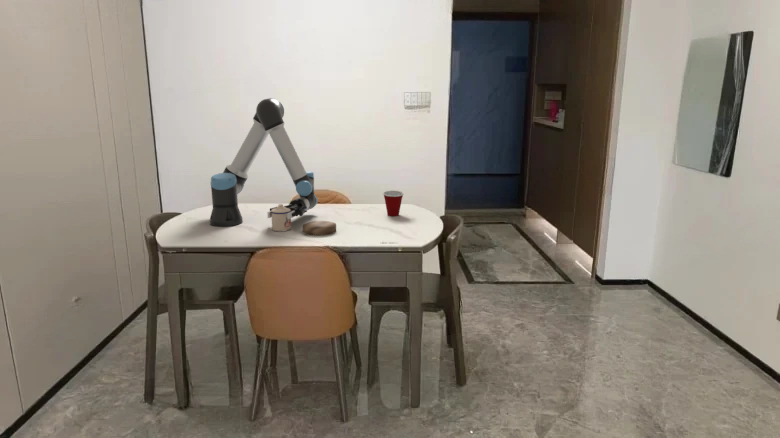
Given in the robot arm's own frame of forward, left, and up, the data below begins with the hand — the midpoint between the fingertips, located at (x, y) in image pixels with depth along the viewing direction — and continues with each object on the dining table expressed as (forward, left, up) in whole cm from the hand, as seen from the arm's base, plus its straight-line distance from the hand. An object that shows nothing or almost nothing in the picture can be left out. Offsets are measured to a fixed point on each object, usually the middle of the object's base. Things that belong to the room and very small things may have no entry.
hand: (278, 215), depth 246 cm
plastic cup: (+42, +46, -7) cm, 62 cm away
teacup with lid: (0, +4, -7) cm, 8 cm away
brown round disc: (+18, +5, -7) cm, 20 cm away
